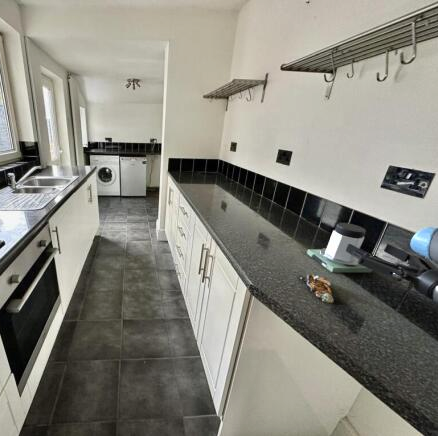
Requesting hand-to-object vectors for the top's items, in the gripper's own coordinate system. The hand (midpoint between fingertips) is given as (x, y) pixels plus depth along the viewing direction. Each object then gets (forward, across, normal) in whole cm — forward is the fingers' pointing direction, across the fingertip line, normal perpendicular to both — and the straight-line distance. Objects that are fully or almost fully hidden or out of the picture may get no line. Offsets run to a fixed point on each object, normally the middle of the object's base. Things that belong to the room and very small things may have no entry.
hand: (367, 247), depth 77 cm
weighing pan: (+8, 0, -9) cm, 12 cm away
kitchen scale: (+8, 0, -11) cm, 14 cm away
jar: (+8, 0, -8) cm, 11 cm away
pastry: (-8, -19, -12) cm, 24 cm away
